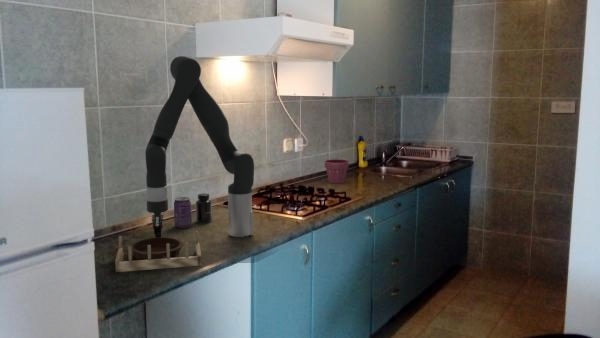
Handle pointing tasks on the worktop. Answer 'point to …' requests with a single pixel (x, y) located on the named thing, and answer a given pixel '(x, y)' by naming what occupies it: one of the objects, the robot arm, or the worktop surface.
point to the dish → (156, 248)
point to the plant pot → (336, 170)
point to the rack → (157, 263)
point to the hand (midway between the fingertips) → (158, 243)
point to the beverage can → (182, 212)
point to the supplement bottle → (203, 209)
